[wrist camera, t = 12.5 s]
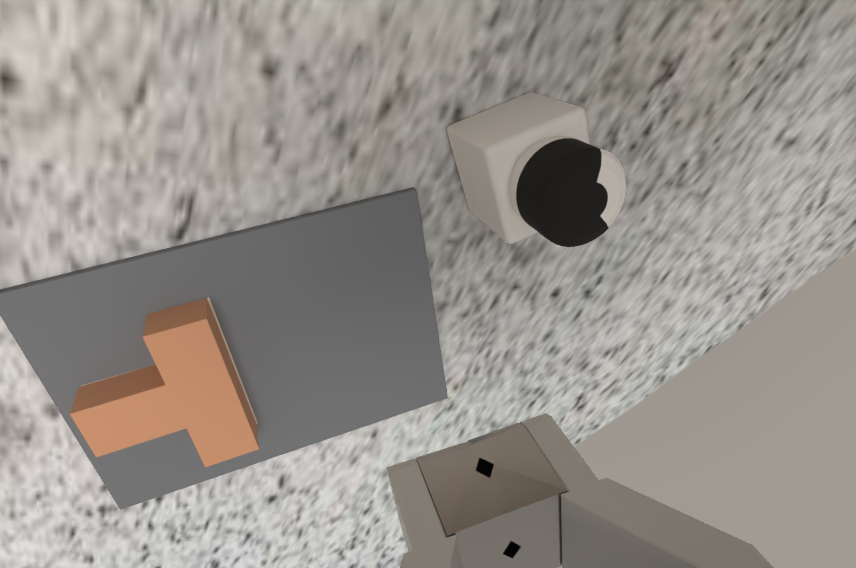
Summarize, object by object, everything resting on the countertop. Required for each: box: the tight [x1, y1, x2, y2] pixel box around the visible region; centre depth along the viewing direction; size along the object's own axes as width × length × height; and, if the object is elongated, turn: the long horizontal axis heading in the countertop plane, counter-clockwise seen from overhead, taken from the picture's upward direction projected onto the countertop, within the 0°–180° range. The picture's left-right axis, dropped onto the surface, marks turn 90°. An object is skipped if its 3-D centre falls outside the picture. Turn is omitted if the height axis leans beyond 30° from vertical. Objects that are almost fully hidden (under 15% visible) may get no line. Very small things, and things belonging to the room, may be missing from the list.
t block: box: [70, 298, 259, 467], centre depth 40 cm, size 10×12×3 cm
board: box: [0, 188, 448, 510], centre depth 43 cm, size 28×20×1 cm
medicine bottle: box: [447, 92, 626, 247], centre depth 37 cm, size 7×7×12 cm
